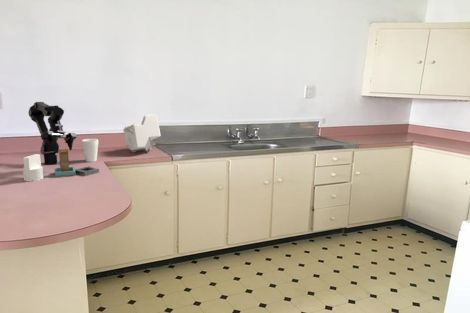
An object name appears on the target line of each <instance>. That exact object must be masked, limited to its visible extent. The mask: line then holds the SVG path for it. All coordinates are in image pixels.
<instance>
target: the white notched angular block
mask: <svg viewBox="0 0 470 313" xmlns="http://www.w3.org/2000/svg"><path fill="white" fill-rule="evenodd" d="M157 114H158V113H152V114H144V116H143V117H142V121H141V123H140V124H137V123H129V124H128V125H126V126H125V127H124V128H123V129H122V130H123V135H124V141H125V142H124V143H125V146H126V148H128V149H129V151H131V152H132V153H136V152H137V151H145V152H146V153H148V152H150V150H152V148H153V147H154V146H155V145H156V143H155V142H154V141H153V140H155V139H158V138H159V137H161V136H162V134H161V130H160V124H159V118H158V115H157Z"/></svg>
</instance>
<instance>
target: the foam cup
mask: <svg viewBox="0 0 470 313" xmlns="http://www.w3.org/2000/svg"><path fill="white" fill-rule="evenodd" d="M81 145H82V148H83V154H84V158H85V162H88V163H92V162H96V161H97V160H98V148H99V139H98V138H84V139H82V140H81Z"/></svg>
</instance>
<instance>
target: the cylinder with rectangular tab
mask: <svg viewBox="0 0 470 313" xmlns="http://www.w3.org/2000/svg"><path fill="white" fill-rule="evenodd" d="M41 161H42V160H41V153H40V154H37V153H34V154H32V155H28V156H24V157H23V167H22V173H23V180H24V179H25V180H38V181H41V180H40V179H42V180H43V179H44V168H43V166H42V163H41ZM25 180H24V181H25Z"/></svg>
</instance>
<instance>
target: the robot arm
mask: <svg viewBox="0 0 470 313" xmlns="http://www.w3.org/2000/svg"><path fill="white" fill-rule="evenodd" d="M64 113H65V110H64V109H63V108H61V107H60V106H59V105H49V104H47V103H45V102H44V101H35V102H34V103H33V105H32V106H30V107H29V109H28V116H29V117H30V120H31V121H33V122H34V123H35V124H36V126H37V129H38V131H39V134H40V138H41V140H42V143H41V147H40V150H39V151H40V155H43V160H44V165H57V163H58V155H57V154H59V149H60V148H59V147H60V144H59V143H58V140H59V139H64V141H65V142H64V143H65V144H67V147H68V150H69V151H72V150H73V144H74V141H75V139H77V137H78V136H77V134H76V133H73V132H68V133H67V134H66V131H65V130H64V129H63V128H64V125H63V124H61V123H62V122H61V120H62V118H63V116H64ZM45 117H48V118H47V123H48V124H49V127H50V128H49V129H48V127H47V123H46V122H45Z"/></svg>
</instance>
